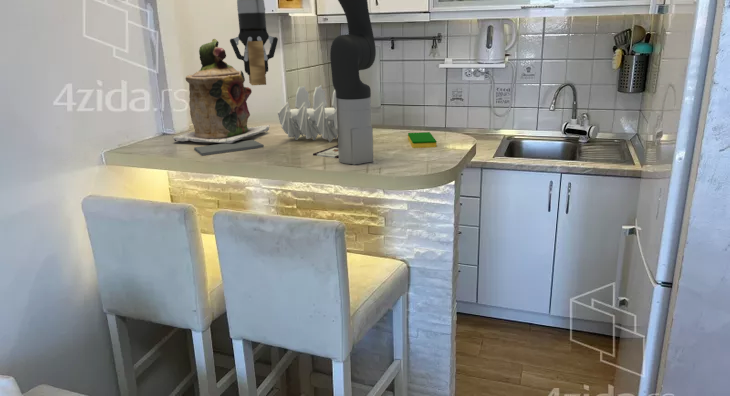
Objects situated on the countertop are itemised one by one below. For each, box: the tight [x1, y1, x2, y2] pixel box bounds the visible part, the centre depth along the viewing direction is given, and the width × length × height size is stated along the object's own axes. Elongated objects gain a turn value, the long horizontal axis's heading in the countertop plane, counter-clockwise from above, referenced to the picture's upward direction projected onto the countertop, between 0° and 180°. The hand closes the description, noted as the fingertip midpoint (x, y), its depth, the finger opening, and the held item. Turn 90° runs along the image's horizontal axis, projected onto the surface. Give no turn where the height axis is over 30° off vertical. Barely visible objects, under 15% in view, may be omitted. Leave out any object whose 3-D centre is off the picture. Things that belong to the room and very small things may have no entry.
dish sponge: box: [407, 131, 437, 149], centre depth 170 cm, size 7×14×2 cm, turn 2°
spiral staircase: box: [277, 84, 338, 143], centre depth 176 cm, size 18×18×25 cm
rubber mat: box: [193, 139, 265, 157], centre depth 170 cm, size 10×19×1 cm, turn 120°
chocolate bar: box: [312, 144, 339, 160], centre depth 163 cm, size 9×1×18 cm
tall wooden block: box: [248, 41, 267, 86], centre depth 158 cm, size 4×8×12 cm, turn 17°
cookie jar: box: [172, 38, 270, 144], centre depth 182 cm, size 25×25×32 cm
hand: (256, 73), depth 159 cm, fingers closed on tall wooden block, 4 cm apart
